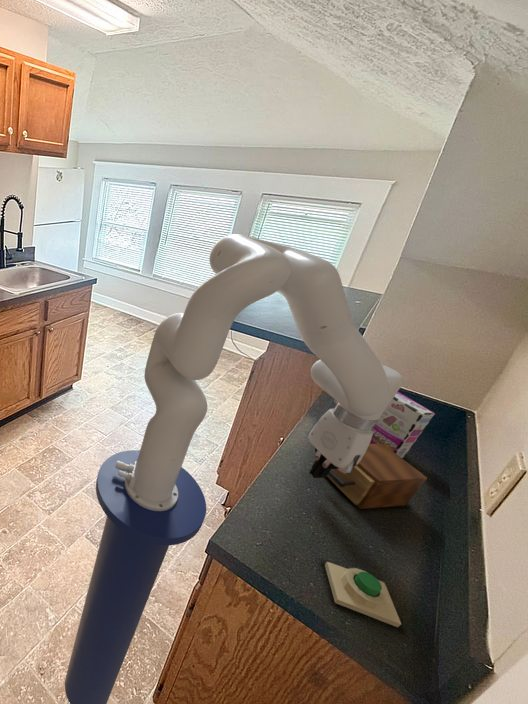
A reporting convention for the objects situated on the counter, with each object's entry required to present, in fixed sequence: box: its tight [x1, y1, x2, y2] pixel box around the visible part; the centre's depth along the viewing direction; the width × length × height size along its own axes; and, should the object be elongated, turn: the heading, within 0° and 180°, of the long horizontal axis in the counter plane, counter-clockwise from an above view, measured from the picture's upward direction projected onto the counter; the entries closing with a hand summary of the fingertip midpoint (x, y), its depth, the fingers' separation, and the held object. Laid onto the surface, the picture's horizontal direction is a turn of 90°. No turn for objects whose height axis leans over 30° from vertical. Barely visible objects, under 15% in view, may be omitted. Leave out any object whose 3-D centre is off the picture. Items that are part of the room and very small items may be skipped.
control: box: [324, 561, 402, 628], centre depth 72 cm, size 10×8×3 cm
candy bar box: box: [370, 391, 436, 459], centre depth 110 cm, size 11×5×16 cm, turn 12°
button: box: [354, 571, 382, 596], centre depth 71 cm, size 4×4×2 cm
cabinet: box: [355, 443, 428, 510], centre depth 95 cm, size 14×12×10 cm
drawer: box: [326, 465, 375, 506], centre depth 95 cm, size 17×10×8 cm, turn 99°
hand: (316, 475), depth 92 cm, fingers closed
